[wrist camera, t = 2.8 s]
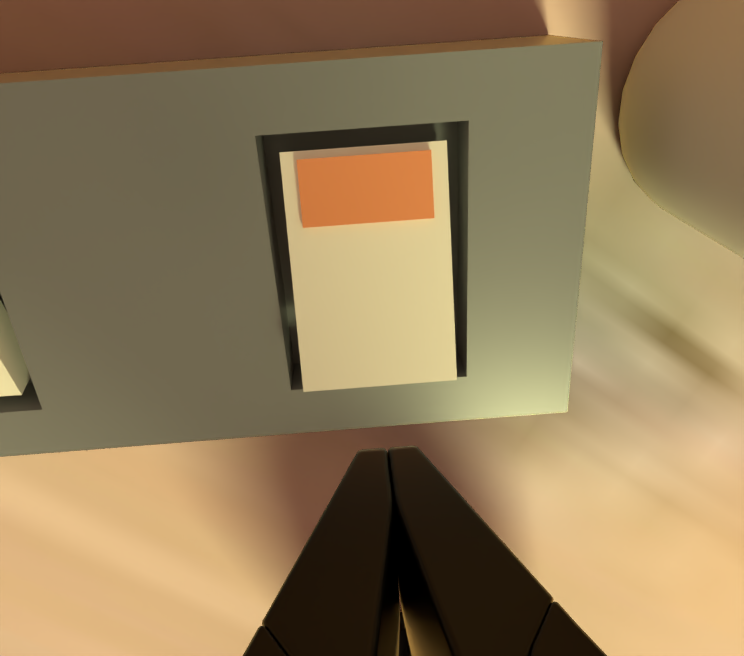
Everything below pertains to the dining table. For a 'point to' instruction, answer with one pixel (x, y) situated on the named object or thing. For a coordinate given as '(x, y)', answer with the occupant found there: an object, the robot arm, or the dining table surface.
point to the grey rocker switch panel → (277, 235)
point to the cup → (690, 118)
